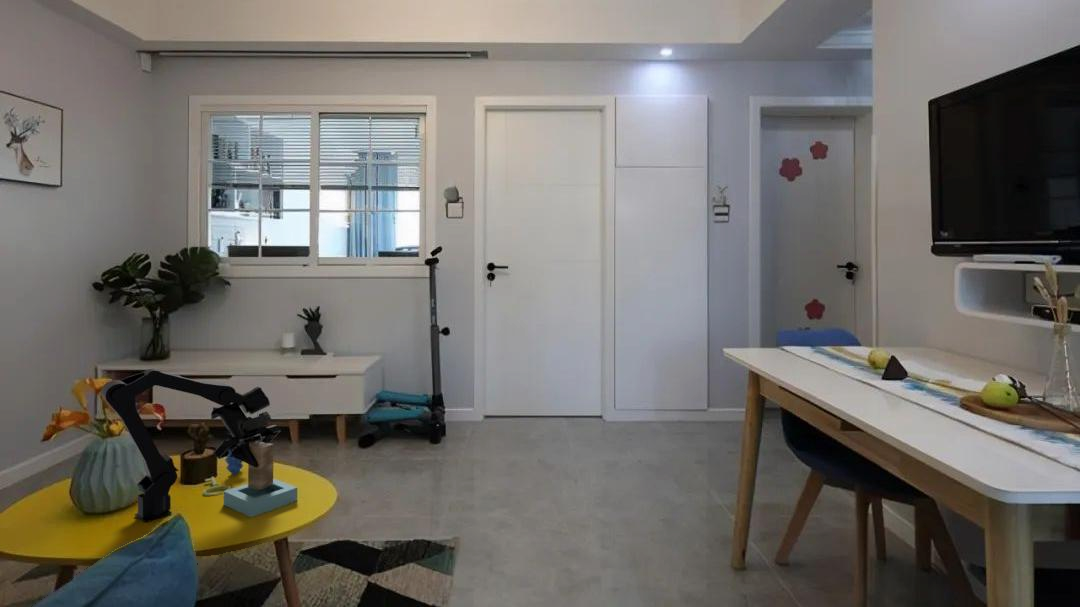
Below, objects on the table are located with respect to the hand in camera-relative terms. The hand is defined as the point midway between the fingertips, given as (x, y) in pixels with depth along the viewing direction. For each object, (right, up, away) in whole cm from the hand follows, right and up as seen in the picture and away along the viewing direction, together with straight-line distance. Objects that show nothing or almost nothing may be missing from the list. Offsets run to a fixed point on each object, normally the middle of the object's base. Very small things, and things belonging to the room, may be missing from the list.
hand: (264, 464), depth 160 cm
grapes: (-20, -10, +23) cm, 32 cm away
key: (-20, -11, +10) cm, 25 cm away
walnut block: (-2, -7, +1) cm, 7 cm away
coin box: (-2, -12, +1) cm, 12 cm away
